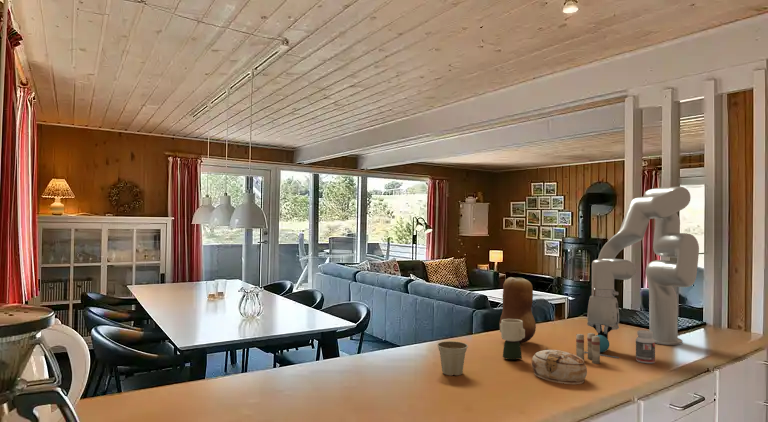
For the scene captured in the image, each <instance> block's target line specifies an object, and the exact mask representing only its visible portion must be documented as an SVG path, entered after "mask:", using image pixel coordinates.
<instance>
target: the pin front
mask: <svg viewBox="0 0 768 422" xmlns="http://www.w3.org/2000/svg"><path fill="white" fill-rule="evenodd" d="M586 334H587V338H586V339H587V352H588V353H587V359H588V360H589V361H590V360H591V361H592V336H596V333H594V332H588V333H586Z"/></svg>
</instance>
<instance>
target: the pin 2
mask: <svg viewBox="0 0 768 422" xmlns="http://www.w3.org/2000/svg"><path fill="white" fill-rule="evenodd" d="M600 354H601V352H600V337H598V336H596V335H595V336H592V360H591V363H592V364H595V365H597V364H598V365H599V364H600V363H601V355H600Z"/></svg>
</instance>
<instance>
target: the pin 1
mask: <svg viewBox="0 0 768 422" xmlns="http://www.w3.org/2000/svg"><path fill="white" fill-rule="evenodd" d="M575 337H576V338H575V345H576V346H575V347H576V354H575V355H576V356H578V357H580V358H581V359H583V360H584V361H585V353H584V352H585V335H584V334H583V333H576V335H575Z"/></svg>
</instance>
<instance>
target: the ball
mask: <svg viewBox="0 0 768 422" xmlns="http://www.w3.org/2000/svg"><path fill="white" fill-rule="evenodd" d="M595 336H598V337H600V353H604V352H607V351H608V349H609V348H610V341H609V338H608V339H607V338H606V337H605V336H602V335H598V334H597V335H596V334H595Z"/></svg>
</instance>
